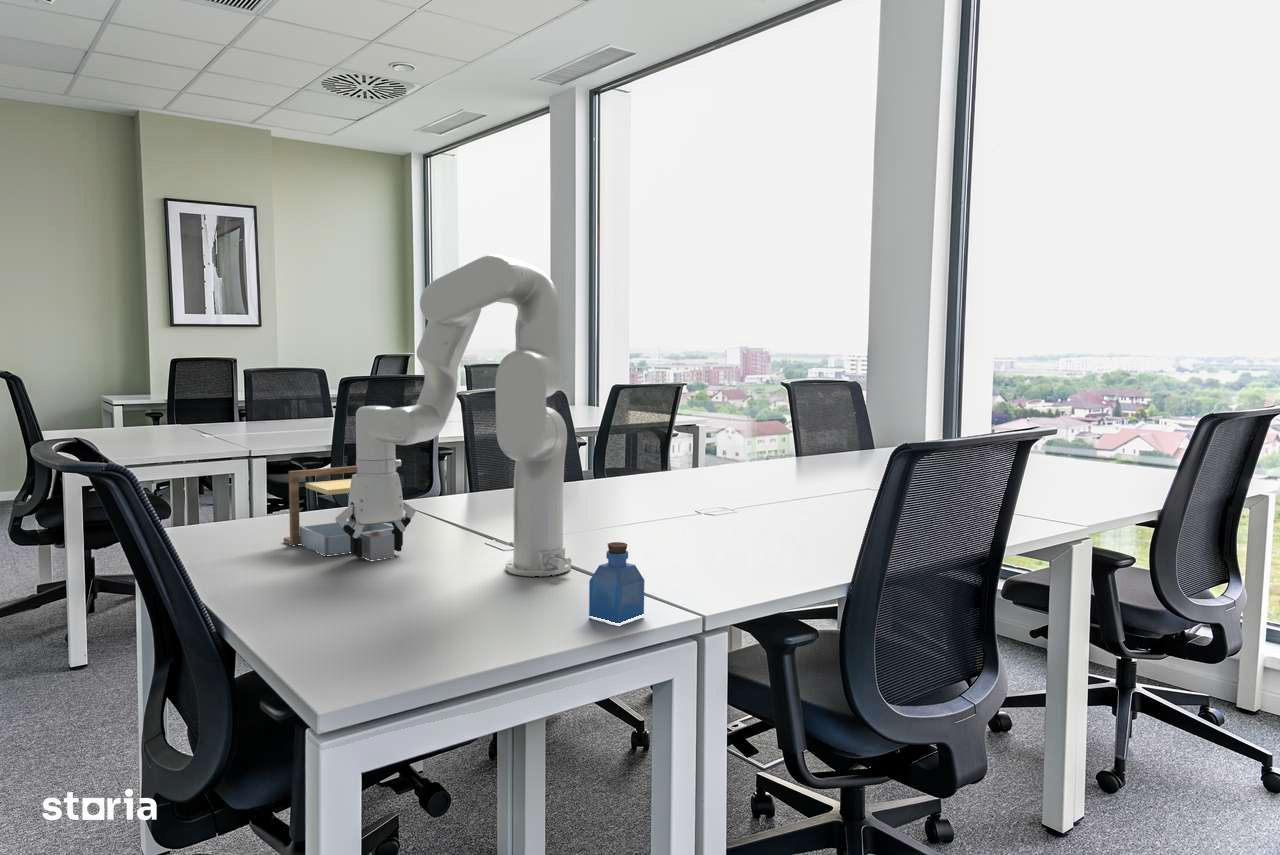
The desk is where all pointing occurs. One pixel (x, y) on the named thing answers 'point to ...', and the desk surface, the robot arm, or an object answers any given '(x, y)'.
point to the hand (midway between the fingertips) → (377, 552)
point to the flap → (330, 486)
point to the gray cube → (377, 545)
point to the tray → (333, 537)
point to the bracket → (294, 496)
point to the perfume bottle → (616, 587)
